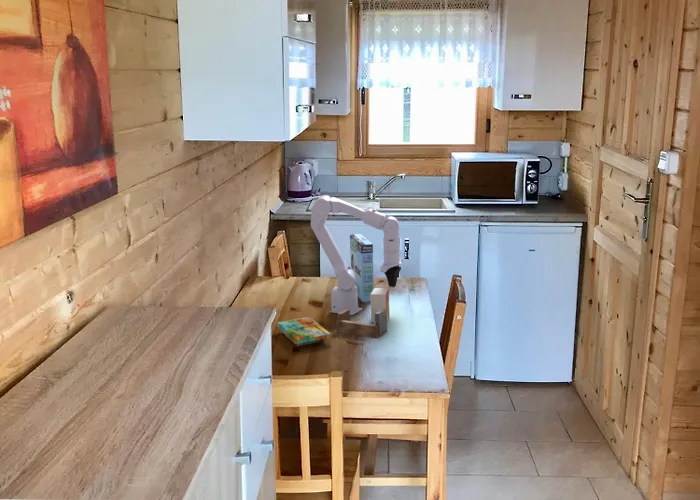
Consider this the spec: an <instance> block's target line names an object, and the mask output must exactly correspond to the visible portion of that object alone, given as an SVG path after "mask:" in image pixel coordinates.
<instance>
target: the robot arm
mask: <svg viewBox="0 0 700 500" xmlns="http://www.w3.org/2000/svg"><path fill="white" fill-rule="evenodd" d="M310 211H311V213H310V214H311V215H310V228H311V230H312V231H313V232H314V235H315V237H316V238H317V241H318V243H319V244H320V245H321V247H322V249H323V251H324V254H326V257H327V259H328V260H329V262H330V264H331V266H332V268H333V271H334V274H335V277H336V279H337V281H336V282H337V286H334V287H333V288H332V290H331V292H330V299H331V301H330V302H331V303H330V304H331V305H330V306H331V310H330V313H333V314H338V313H340V312H341V311H343V310H345V309H349V310H350V316H354V315H356V314H357V313H359V312H360V311H362V310H363V307H359V301H358V299H359V297H358V294H357V286H356V284H355V280H356V277H357V275H356V272H355V271H354V270H353V269H352V268H351V265H349V263H348V262H347V261H346V260H345V258H344V256H343V255H342V253H341V251H340V249H339V247H338V245H337V244H336V241H335V239H334V238H333V235H332V234H331V232H330V230H329V228H328V227H327V225H326V221H327V218H328V216H329V214H330V213H332V214H335V213H344V214H347V215H349V216H353V217H355V218H358V219H361V221H362V223H363V224H364V225H367V226H370V227H371V228H374V229H376V230H380V231H382V232H383V238H382V241H383V242H382V243H383V262H382V264H381V265H380V266H379V267H380V268H379V270H380V271H379V272H381V273H384V275H385V277H386V281H387V284H388V287H390V288H396V287H397V282H398V277H399V274H400V272H401V271H402V265H404V264H403V263H404V258H403V257H400V237H399V235H400V233H399V229H400V223H399V220H398V218H396V217H394V215H389V214H388V213H386V214H384V213H381V212H379V211H377V209H376V208H372V209H371V208H367V209H366V210H364V209H363V208H360V207H358V206H356V205H353V204H352V203H349V202H347V201H345V200H342V199H340V198H337V197H335V196H330V195H328V194H322V195H320V196H319V197H318V198H317V199H316V201H315V202H314V203H313V205H312V208H311V210H310Z"/></svg>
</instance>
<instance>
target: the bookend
mask: <svg viewBox="0 0 700 500" xmlns="http://www.w3.org/2000/svg"><path fill="white" fill-rule="evenodd" d="M374 325H379V337H378V338H380V337H382V336H383V335H385V334H386V333H388V320H387V309H381V310H380V311H378V312H377V313H375V322H374Z"/></svg>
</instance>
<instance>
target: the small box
mask: <svg viewBox="0 0 700 500" xmlns="http://www.w3.org/2000/svg"><path fill="white" fill-rule="evenodd" d="M370 301H371V302H370V320H371V321H370V322H371V323H375V313H377V312H378V311H380V310H381V309H387V321H389V320H388V319H389V317H390V289H389V288H387V287H374V289H373V291H372V293H371V294H370Z"/></svg>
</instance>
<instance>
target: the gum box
mask: <svg viewBox="0 0 700 500" xmlns="http://www.w3.org/2000/svg"><path fill="white" fill-rule="evenodd" d="M349 241H350V242H349V245H350V246H349V249H350V251H349V254H350V267H351V268H352V269H353V270H354V271H355V272H356V275H357V277H356V280H355V284H356V286H357V294H358V299H359V300H360V301H361V303H369V302H370V303H371V301H370V294H371V293H372V291H373V289H374V288H375V286H374V285H375V284H374V281H375V280H374V244H373V242H371V241H370V240H368V239H367V238H366V237H365V236H364V235H362V234H361V233H355V234H354V233H352V234H349Z"/></svg>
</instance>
